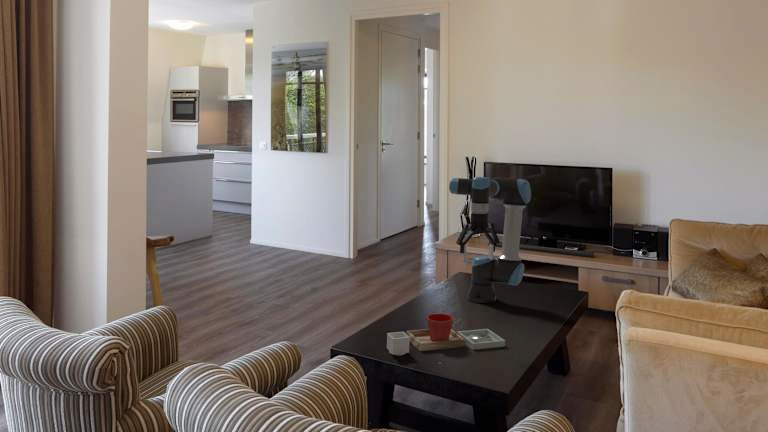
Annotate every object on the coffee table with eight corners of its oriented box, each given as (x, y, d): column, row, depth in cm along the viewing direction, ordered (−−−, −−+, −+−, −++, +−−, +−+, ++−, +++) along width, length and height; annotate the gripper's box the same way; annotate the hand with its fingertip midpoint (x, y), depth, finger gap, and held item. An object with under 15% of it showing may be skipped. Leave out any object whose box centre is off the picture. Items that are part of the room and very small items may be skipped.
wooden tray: (406, 337, 254) (406, 330, 253) (448, 333, 260) (448, 327, 260) (420, 351, 239) (420, 344, 238) (464, 346, 245) (465, 339, 245)
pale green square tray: (456, 337, 256) (456, 331, 255) (487, 334, 261) (487, 328, 260) (472, 349, 242) (472, 343, 241) (504, 346, 247) (505, 340, 246)
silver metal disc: (466, 336, 254) (466, 334, 254) (484, 334, 257) (485, 332, 256) (475, 343, 245) (476, 341, 245) (495, 341, 248) (495, 339, 248)
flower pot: (424, 335, 255) (425, 313, 253) (449, 334, 256) (450, 313, 254) (428, 344, 244) (429, 321, 243) (454, 343, 245) (455, 321, 244)
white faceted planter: (386, 349, 239) (387, 333, 238) (402, 348, 242) (403, 331, 241) (392, 356, 233) (392, 339, 232) (409, 354, 235) (409, 337, 234)
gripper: (457, 214, 252) (455, 262, 255) (509, 213, 260) (506, 260, 263) (450, 211, 259) (448, 259, 262) (500, 210, 267) (497, 256, 270)
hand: (477, 259), depth 263 cm, fingers open, 13 cm apart
